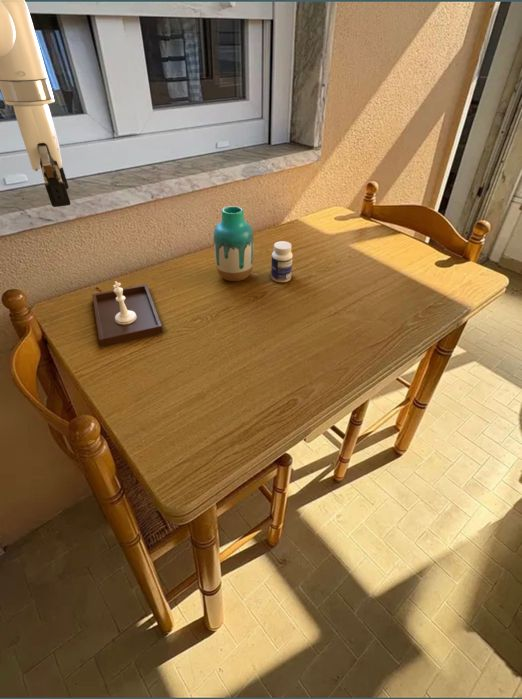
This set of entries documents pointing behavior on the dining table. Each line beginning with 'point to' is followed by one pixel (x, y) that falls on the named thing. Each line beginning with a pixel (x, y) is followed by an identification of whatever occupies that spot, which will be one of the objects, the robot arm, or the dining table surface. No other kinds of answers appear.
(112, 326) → the tray
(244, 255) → the vase
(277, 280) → the pill bottle
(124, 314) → the chess piece
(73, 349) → the dining table surface
